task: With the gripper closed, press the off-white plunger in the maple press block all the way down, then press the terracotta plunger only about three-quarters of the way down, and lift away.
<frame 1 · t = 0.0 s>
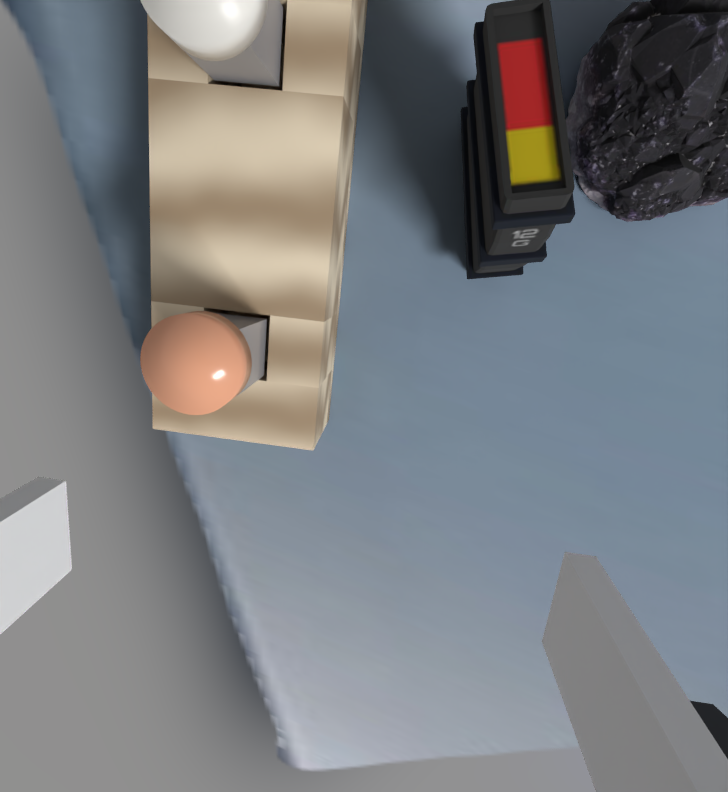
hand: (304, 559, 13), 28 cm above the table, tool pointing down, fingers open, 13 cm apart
press block: (270, 216, 37), on the table
black rock: (654, 123, 34), on the table
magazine: (485, 183, 35), on the table
terracotta plunger: (216, 353, 30), point 10 cm above the table, slide at 0.0 cm
pale plunger: (224, 12, 25), point 10 cm above the table, slide at 0.0 cm
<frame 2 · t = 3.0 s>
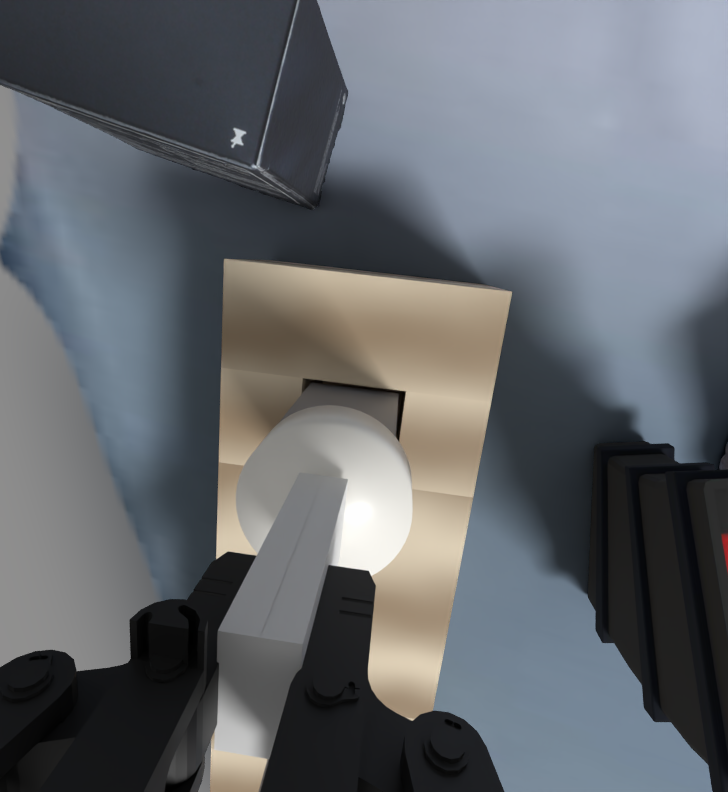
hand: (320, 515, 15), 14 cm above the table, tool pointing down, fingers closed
press block: (347, 526, 31), on the table
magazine: (614, 504, 29), on the table
small box: (241, 118, 25), on the table
pale plunger: (339, 461, 19), point 10 cm above the table, slide at 0.3 cm, touching gripper
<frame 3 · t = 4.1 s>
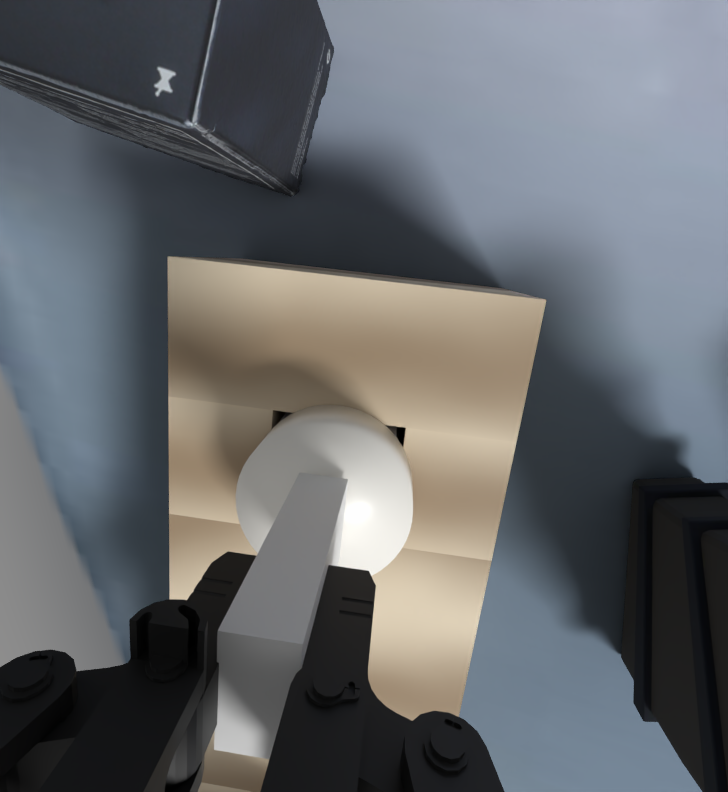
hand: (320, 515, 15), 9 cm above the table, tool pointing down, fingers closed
press block: (337, 573, 26), on the table
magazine: (654, 549, 24), on the table
small box: (203, 84, 20), on the table
pale plunger: (339, 460, 18), point 5 cm above the table, slide at 5.2 cm, touching gripper
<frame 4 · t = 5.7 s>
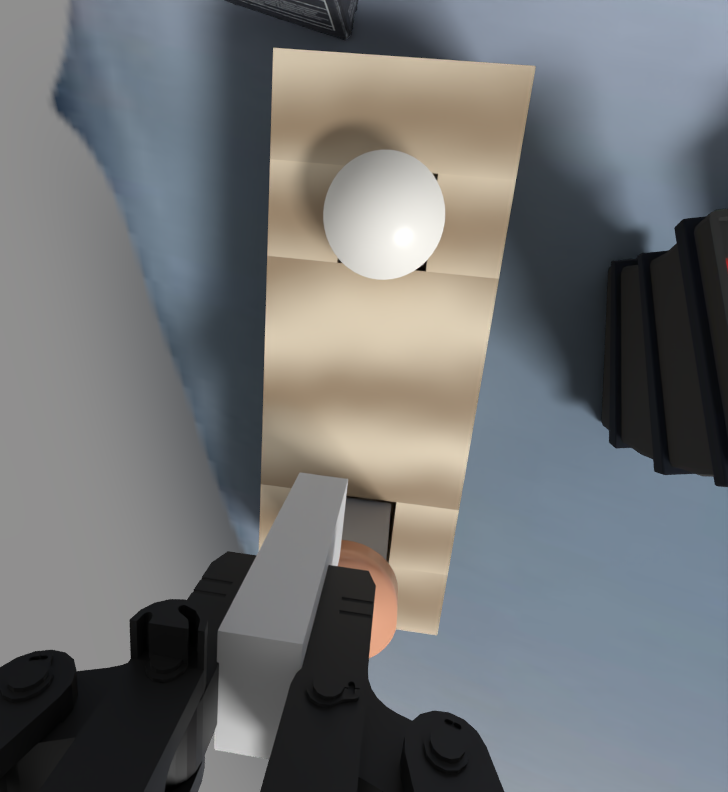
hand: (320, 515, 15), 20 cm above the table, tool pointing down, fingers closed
press block: (377, 362, 33), on the table
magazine: (626, 329, 31), on the table
terracotta plunger: (347, 565, 26), point 10 cm above the table, slide at 0.0 cm
pale plunger: (387, 221, 25), point 5 cm above the table, slide at 5.1 cm
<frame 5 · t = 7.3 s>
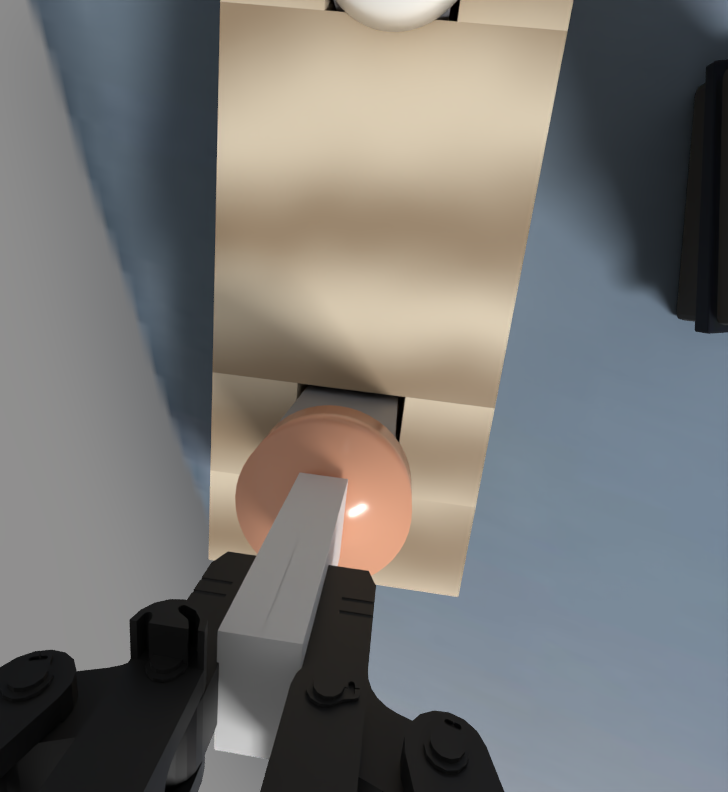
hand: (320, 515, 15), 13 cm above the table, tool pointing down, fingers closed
press block: (379, 233, 25), on the table
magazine: (715, 182, 23), on the table
terracotta plunger: (338, 461, 19), point 9 cm above the table, slide at 1.2 cm, touching gripper
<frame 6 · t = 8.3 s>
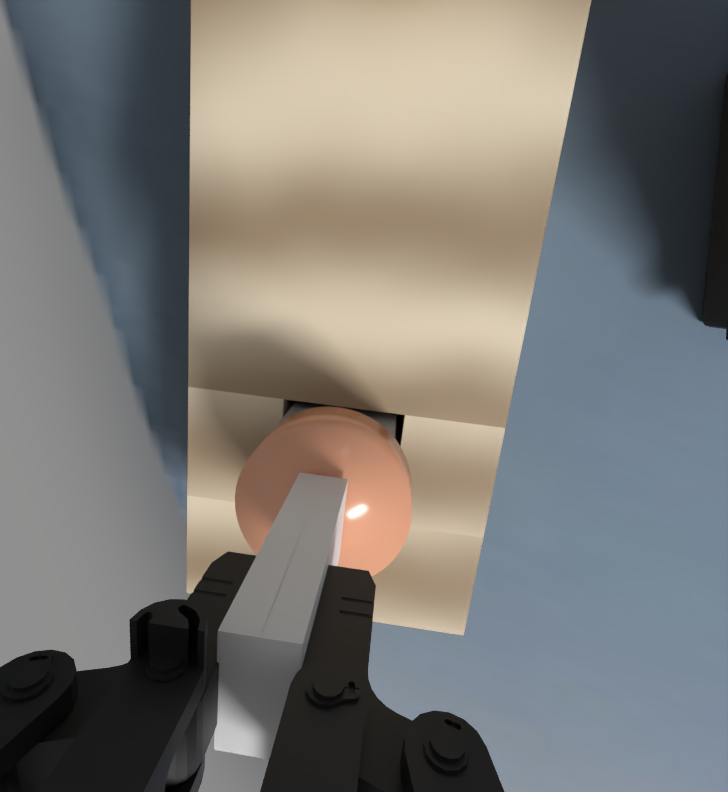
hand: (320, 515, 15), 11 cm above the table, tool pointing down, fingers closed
press block: (376, 231, 23), on the table
terracotta plunger: (338, 462, 19), point 7 cm above the table, slide at 3.5 cm, touching gripper
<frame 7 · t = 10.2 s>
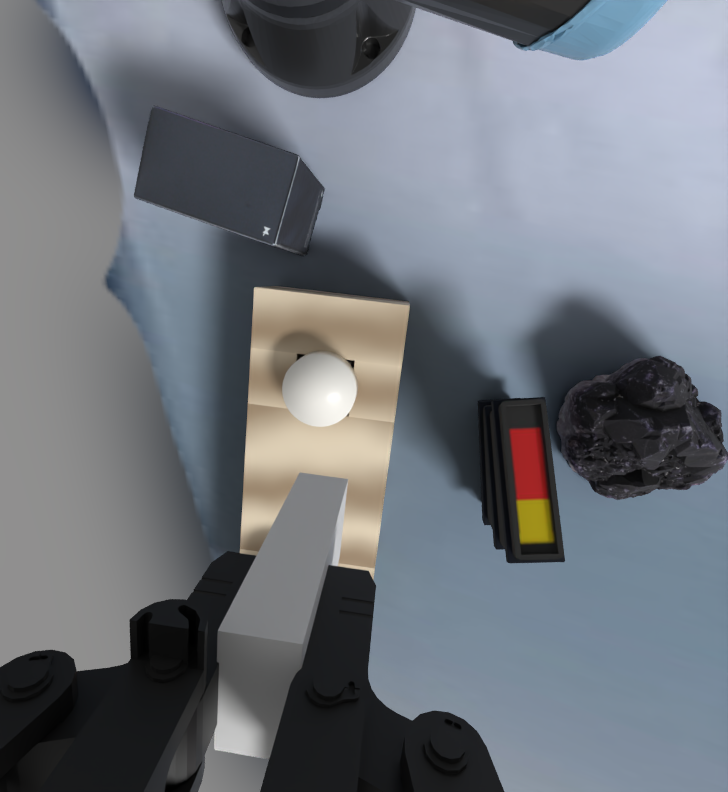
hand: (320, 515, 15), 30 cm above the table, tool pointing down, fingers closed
press block: (326, 458, 47), on the table
black rock: (624, 422, 44), on the table
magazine: (496, 440, 45), on the table
small box: (261, 202, 42), on the table
pale plunger: (326, 381, 40), point 5 cm above the table, slide at 5.1 cm
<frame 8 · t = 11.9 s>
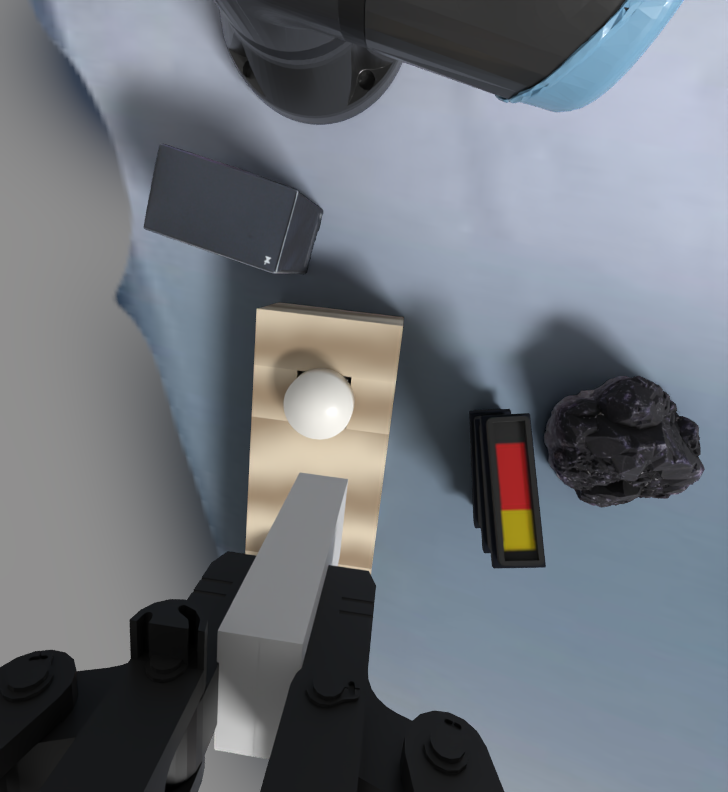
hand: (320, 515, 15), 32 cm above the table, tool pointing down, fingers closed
press block: (326, 464, 50), on the table
black rock: (608, 434, 47), on the table
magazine: (487, 448, 48), on the table
small box: (262, 223, 44), on the table
pale plunger: (325, 394, 42), point 5 cm above the table, slide at 5.1 cm
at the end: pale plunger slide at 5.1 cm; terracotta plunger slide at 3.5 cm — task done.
